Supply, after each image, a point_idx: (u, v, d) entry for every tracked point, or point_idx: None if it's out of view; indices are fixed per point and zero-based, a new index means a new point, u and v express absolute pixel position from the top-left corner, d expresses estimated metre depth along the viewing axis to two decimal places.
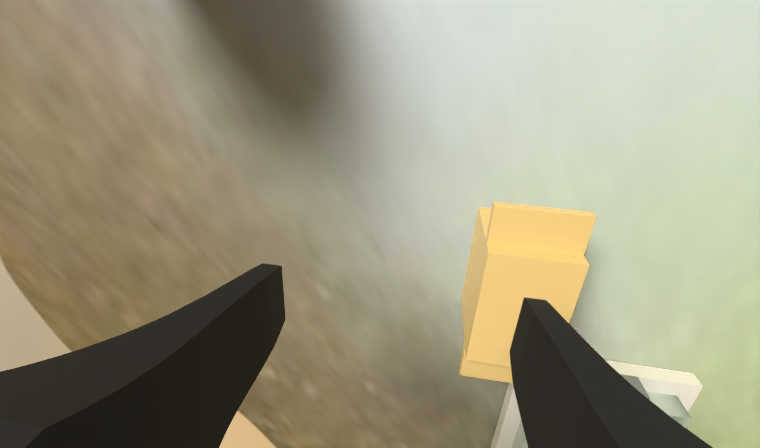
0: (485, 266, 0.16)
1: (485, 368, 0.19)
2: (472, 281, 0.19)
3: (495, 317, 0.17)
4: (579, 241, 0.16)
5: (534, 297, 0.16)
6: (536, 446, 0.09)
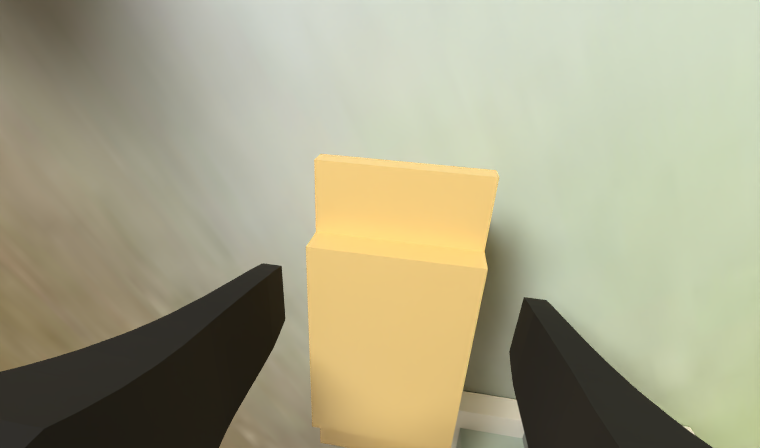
0: (308, 271, 0.09)
1: (356, 434, 0.12)
2: None
3: (343, 361, 0.10)
4: (474, 225, 0.09)
5: (400, 327, 0.09)
6: (536, 446, 0.09)
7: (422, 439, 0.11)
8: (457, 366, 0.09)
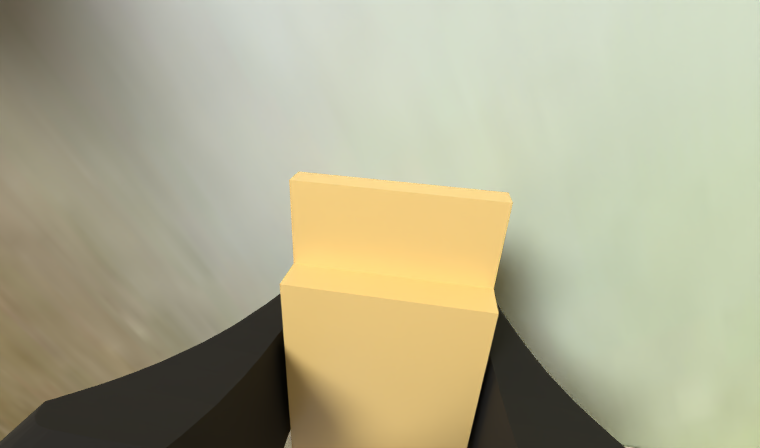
0: (284, 311, 0.07)
1: None
2: None
3: (328, 411, 0.08)
4: (481, 258, 0.07)
5: (393, 376, 0.08)
6: None
7: None
8: (460, 421, 0.08)
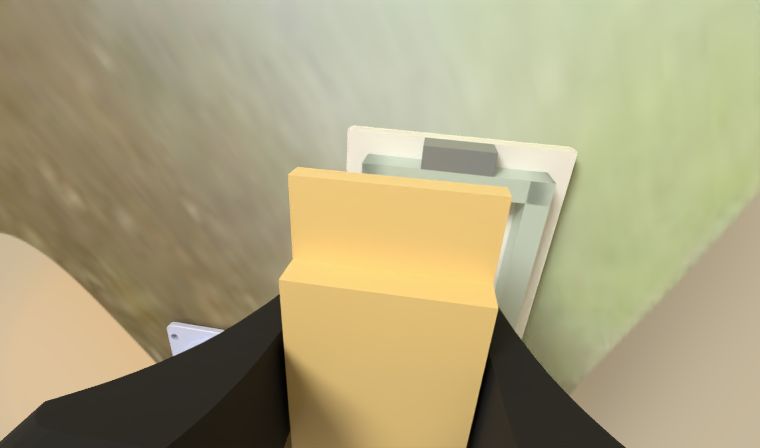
0: (283, 307, 0.07)
1: None
2: None
3: (327, 407, 0.08)
4: (481, 253, 0.07)
5: (393, 372, 0.08)
6: (469, 434, 0.09)
7: None
8: (460, 417, 0.08)
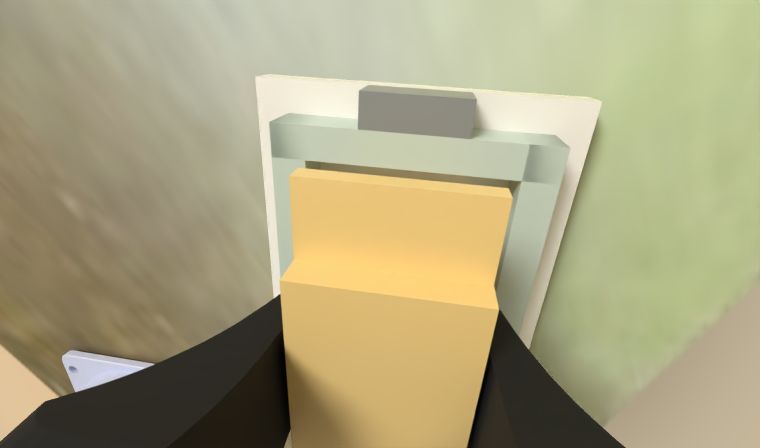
0: (284, 308, 0.07)
1: None
2: None
3: (328, 408, 0.08)
4: (482, 254, 0.07)
5: (393, 373, 0.08)
6: None
7: None
8: (461, 417, 0.08)
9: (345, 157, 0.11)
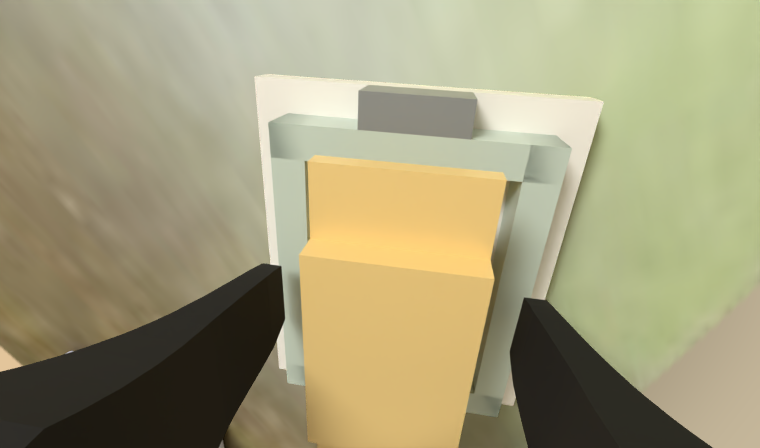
0: (302, 281, 0.08)
1: None
2: None
3: (340, 375, 0.09)
4: (479, 231, 0.08)
5: (400, 340, 0.09)
6: (536, 446, 0.09)
7: None
8: (461, 381, 0.09)
9: (345, 157, 0.11)
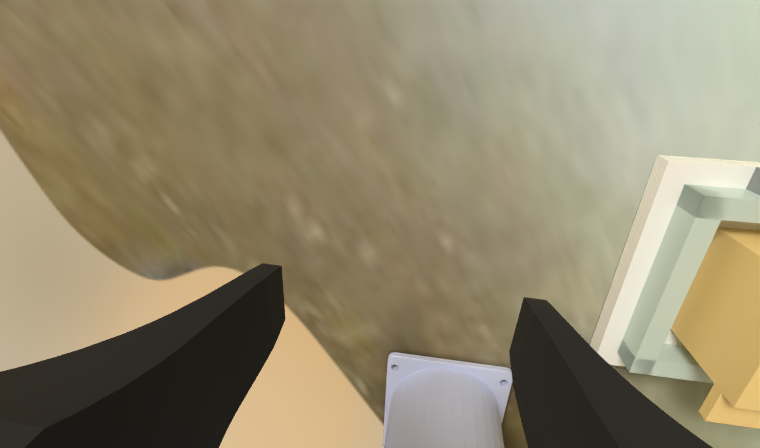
0: None
1: (741, 413, 0.17)
2: (725, 314, 0.17)
3: None
4: None
5: None
6: (536, 446, 0.09)
7: None
8: None
9: (754, 218, 0.16)
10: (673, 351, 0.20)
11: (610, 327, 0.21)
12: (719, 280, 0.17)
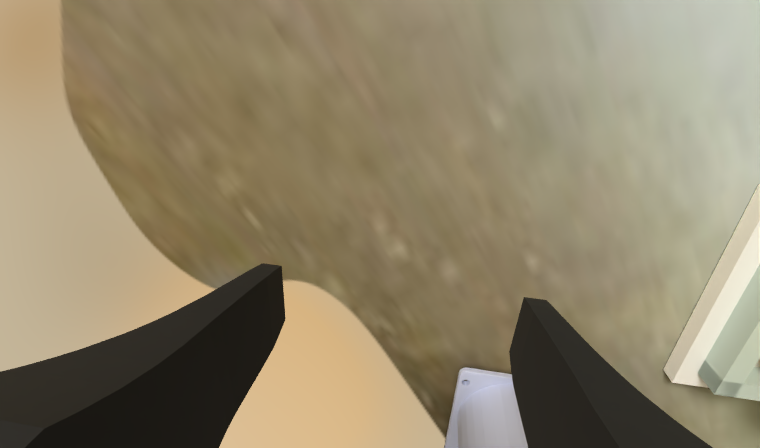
0: None
1: None
2: None
3: None
4: None
5: None
6: (536, 446, 0.09)
7: None
8: None
9: None
10: (757, 374, 0.21)
11: (693, 349, 0.21)
12: None
